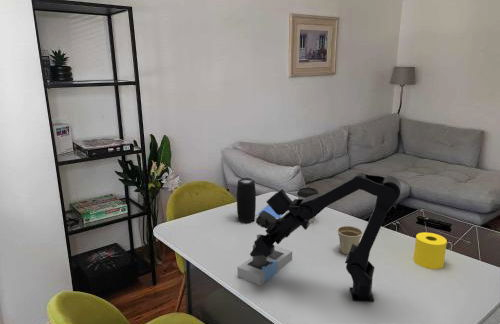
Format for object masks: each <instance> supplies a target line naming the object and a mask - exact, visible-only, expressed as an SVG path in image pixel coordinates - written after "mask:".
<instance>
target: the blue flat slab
mask: <svg viewBox="0 0 500 324" xmlns="http://www.w3.org/2000/svg"><path fill="white" fill-rule="evenodd" d="M262 211H266V212H268V213H269V214H271V215H272V216H274V217H275V218H276V219H279V218H281V217H283V216H285V215H286V214H287V213H288V212H289V210H288V211H287V212H286V213H284V214H283V215H281V214H280V215H277V214H276V213H275V212H274V210H273V209H272V208H271V207H270V206H269V205H268V204H267V205H266V206H265V207H263V208H262V209H261V210H260V211H258V212H256V213H255V217H258V216H259V214H260V213H261V212H262Z"/></svg>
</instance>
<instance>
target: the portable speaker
mask: <svg viewBox="0 0 500 324" xmlns="http://www.w3.org/2000/svg"><path fill="white" fill-rule="evenodd" d="M255 181H256V180H254V179H252V178H250V177H242V178H240V179H239V180H237V185H236V186H237V187H236V210H237V211H236V213H237V219H238V220H239V221H240V223H241V224H249V223H251V222H252V221H256V218H255V217H256V207H257V204H256V200H257V199H256V197H257V196H256V195H257V193H256V184H255V183H256V182H255Z"/></svg>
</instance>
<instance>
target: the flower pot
mask: <svg viewBox="0 0 500 324" xmlns="http://www.w3.org/2000/svg"><path fill="white" fill-rule="evenodd" d="M336 230H337V233H338V237H339V238H338V239H339V249H340V250H339V251H340V252H341V253H342V254H344V255H346V256H348V253H349V252H350V250H351V247H352V244H354V245H356V246H357V245H358V244H359V242H360V240H361V238H362V236H363V233H364V231H363V230H362V229H360V228H358V227H356V226H351V225H344V226H343V225H342V226H339V227H338V228H337V229H336Z"/></svg>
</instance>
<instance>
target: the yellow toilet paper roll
mask: <svg viewBox="0 0 500 324" xmlns="http://www.w3.org/2000/svg"><path fill="white" fill-rule="evenodd" d="M447 242H448V241H447V238H445V237H444V236H442V235H440V234H438V233H433V232H426V231H425V232H424V231H423V232H419V233H417V234H416V236H415V244H414V250H413V251H414V253H413V261H414V264H416V265H418V266H419V267H422V268H425V269H430V270H439V269H442V268H443V267H444V264H445V257H446V251H447Z"/></svg>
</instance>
